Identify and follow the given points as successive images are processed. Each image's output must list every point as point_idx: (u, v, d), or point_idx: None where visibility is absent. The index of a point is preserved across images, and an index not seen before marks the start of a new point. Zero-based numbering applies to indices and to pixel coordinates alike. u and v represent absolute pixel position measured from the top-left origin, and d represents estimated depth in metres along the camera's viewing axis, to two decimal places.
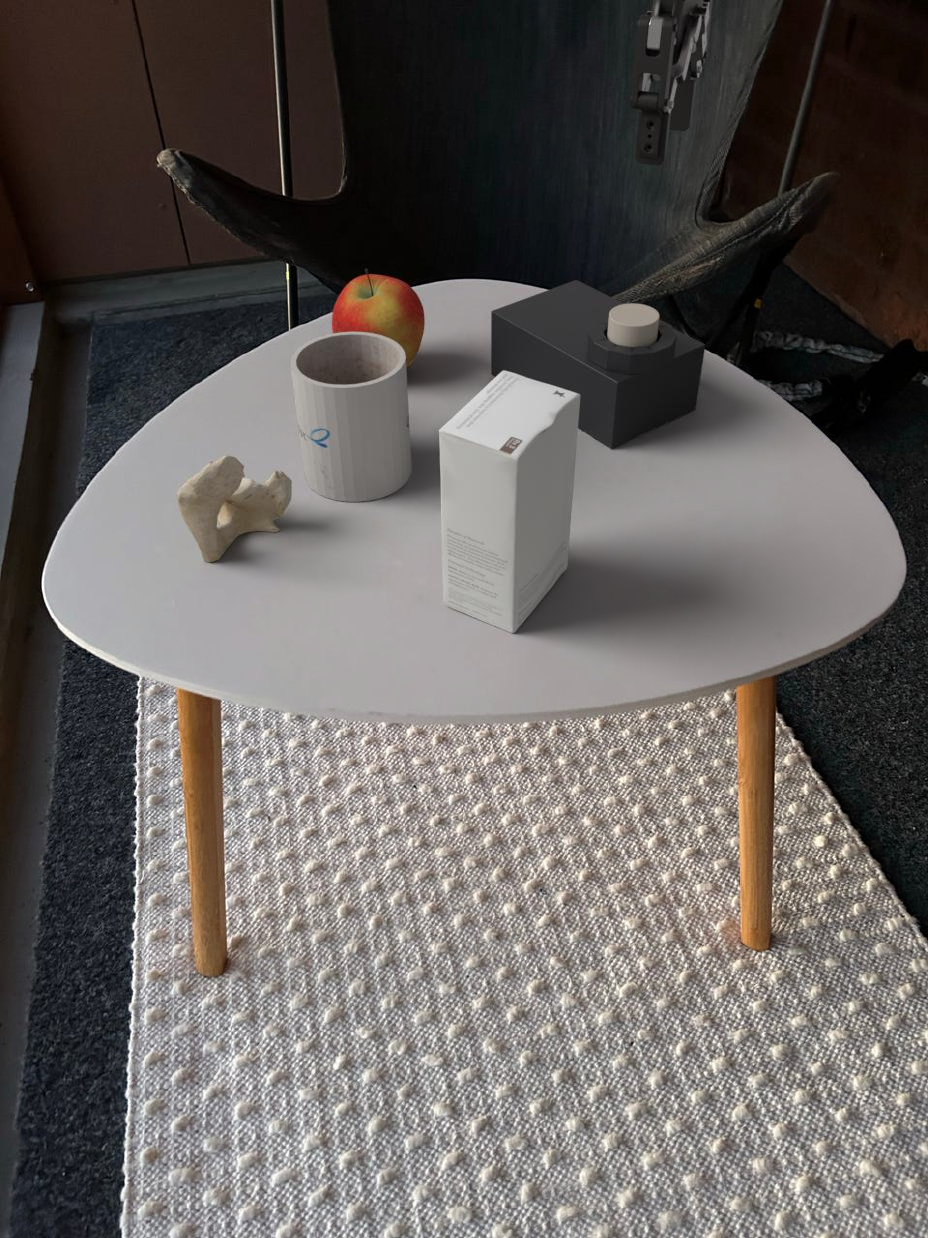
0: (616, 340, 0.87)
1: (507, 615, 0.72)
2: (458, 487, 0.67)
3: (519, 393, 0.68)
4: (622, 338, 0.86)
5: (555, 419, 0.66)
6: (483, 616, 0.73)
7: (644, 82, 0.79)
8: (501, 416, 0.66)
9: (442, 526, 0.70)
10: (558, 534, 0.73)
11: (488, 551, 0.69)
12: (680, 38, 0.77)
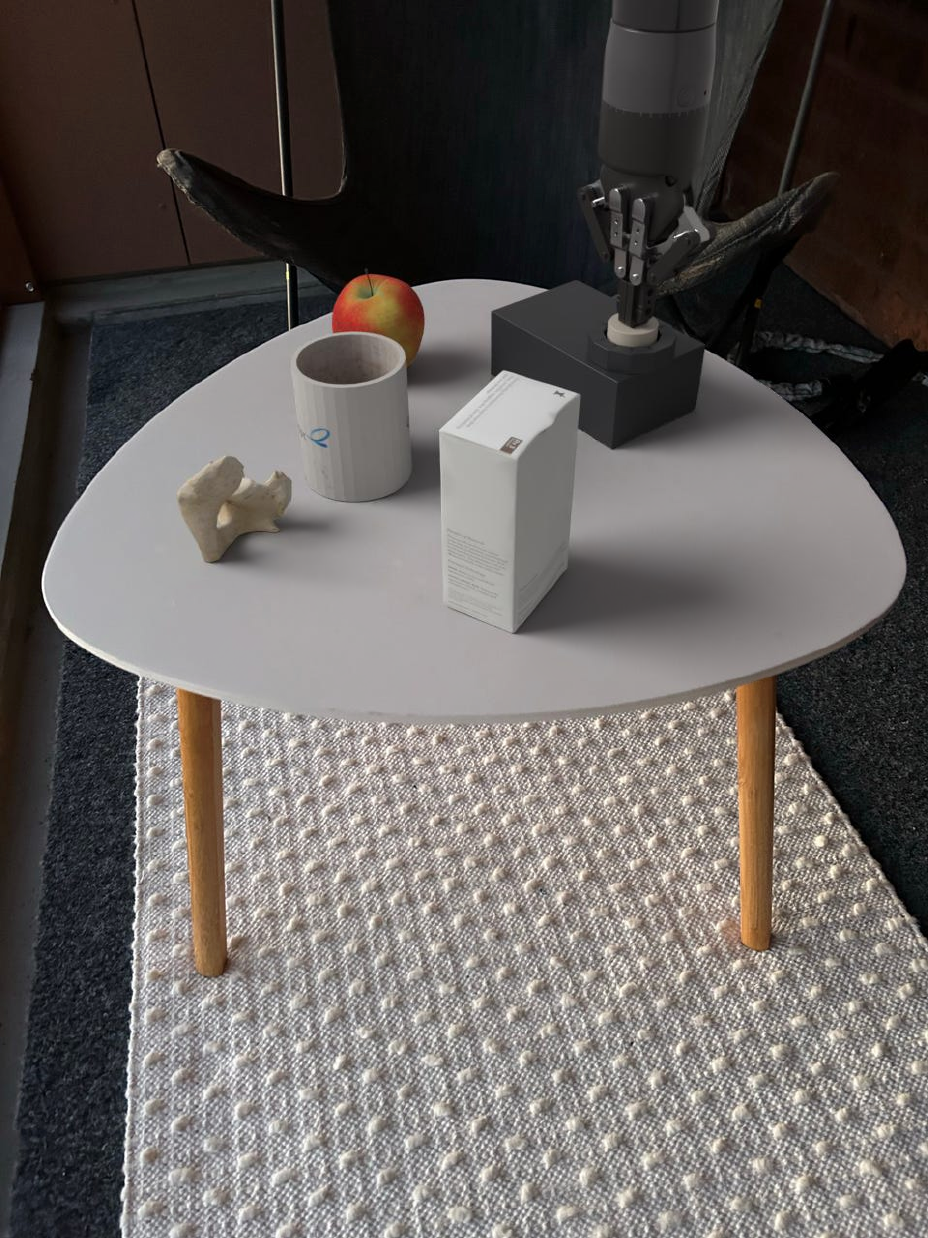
0: None
1: (507, 615, 0.72)
2: (458, 487, 0.67)
3: (520, 393, 0.68)
4: None
5: (555, 419, 0.66)
6: (483, 616, 0.73)
7: (645, 266, 0.82)
8: (501, 416, 0.66)
9: (442, 526, 0.70)
10: (558, 534, 0.73)
11: (488, 551, 0.69)
12: None
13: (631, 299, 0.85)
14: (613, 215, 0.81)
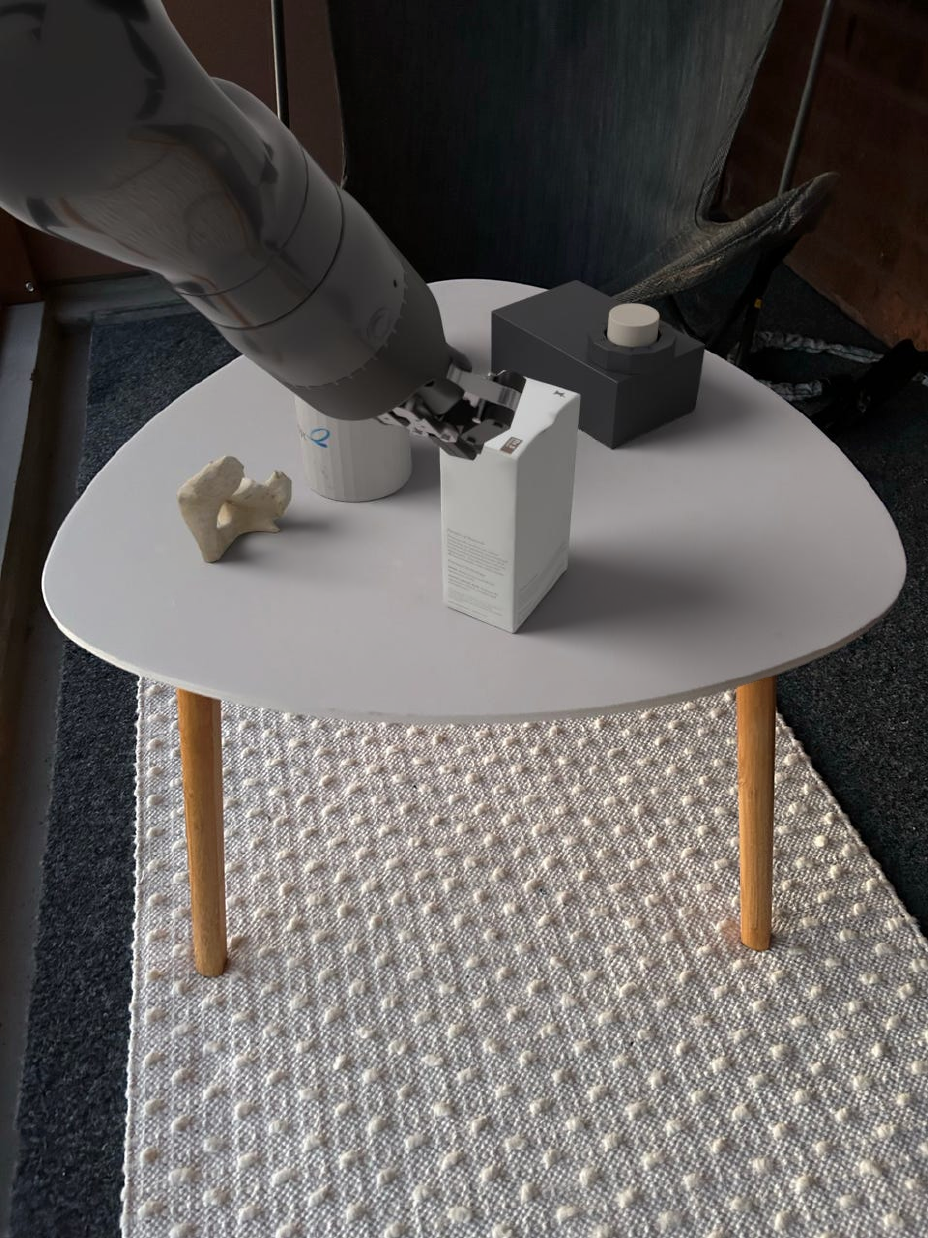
0: (616, 340, 0.87)
1: (507, 615, 0.72)
2: (458, 487, 0.67)
3: None
4: (622, 338, 0.86)
5: (555, 419, 0.66)
6: (483, 616, 0.73)
7: (451, 427, 0.55)
8: None
9: (442, 526, 0.70)
10: (558, 534, 0.73)
11: (488, 551, 0.69)
12: None
13: (455, 447, 0.58)
14: None
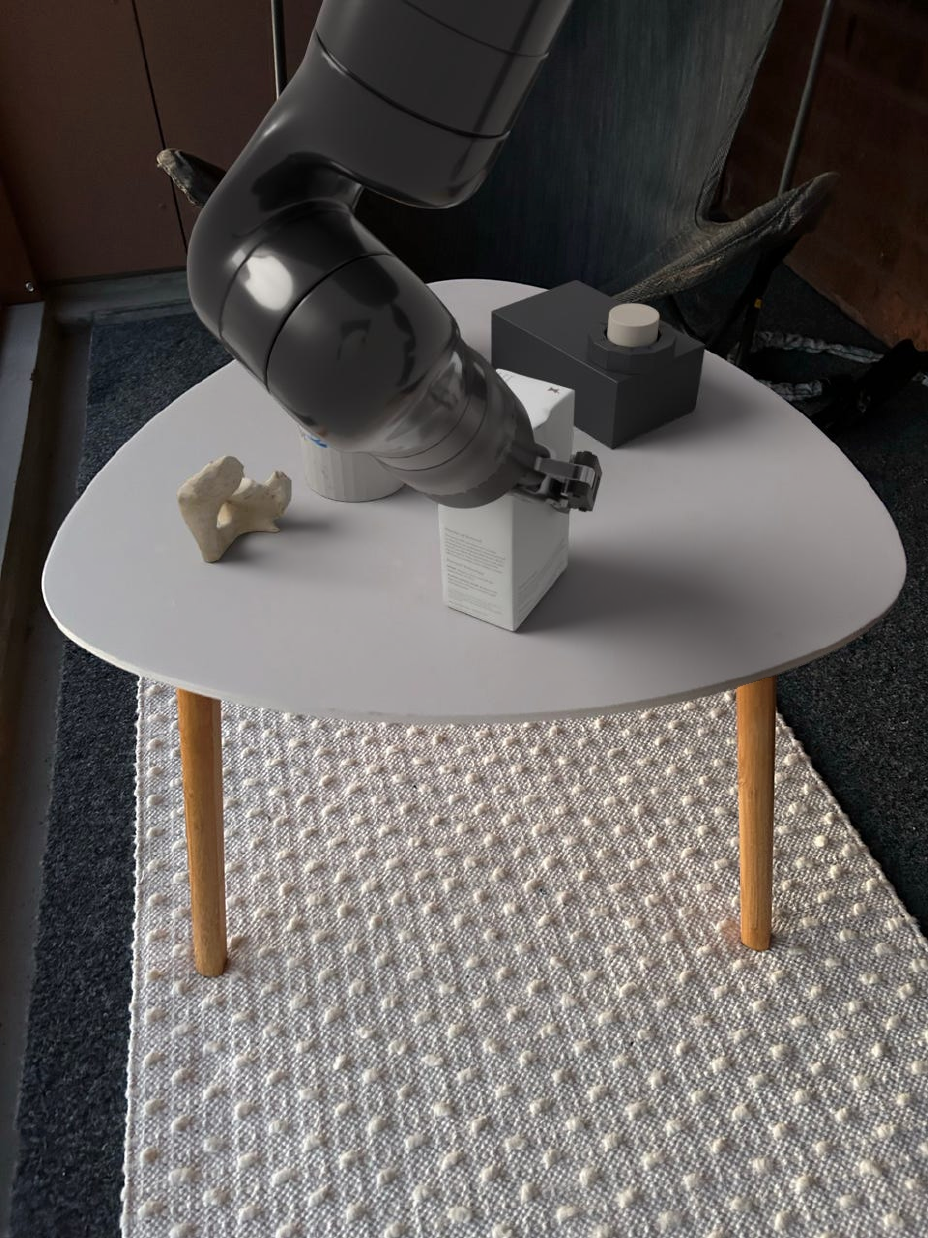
0: (616, 340, 0.87)
1: (506, 613, 0.72)
2: None
3: (514, 390, 0.68)
4: (622, 338, 0.86)
5: (549, 415, 0.66)
6: (483, 614, 0.73)
7: (554, 496, 0.66)
8: None
9: (440, 525, 0.70)
10: (556, 532, 0.73)
11: (485, 549, 0.69)
12: None
13: (559, 507, 0.69)
14: None
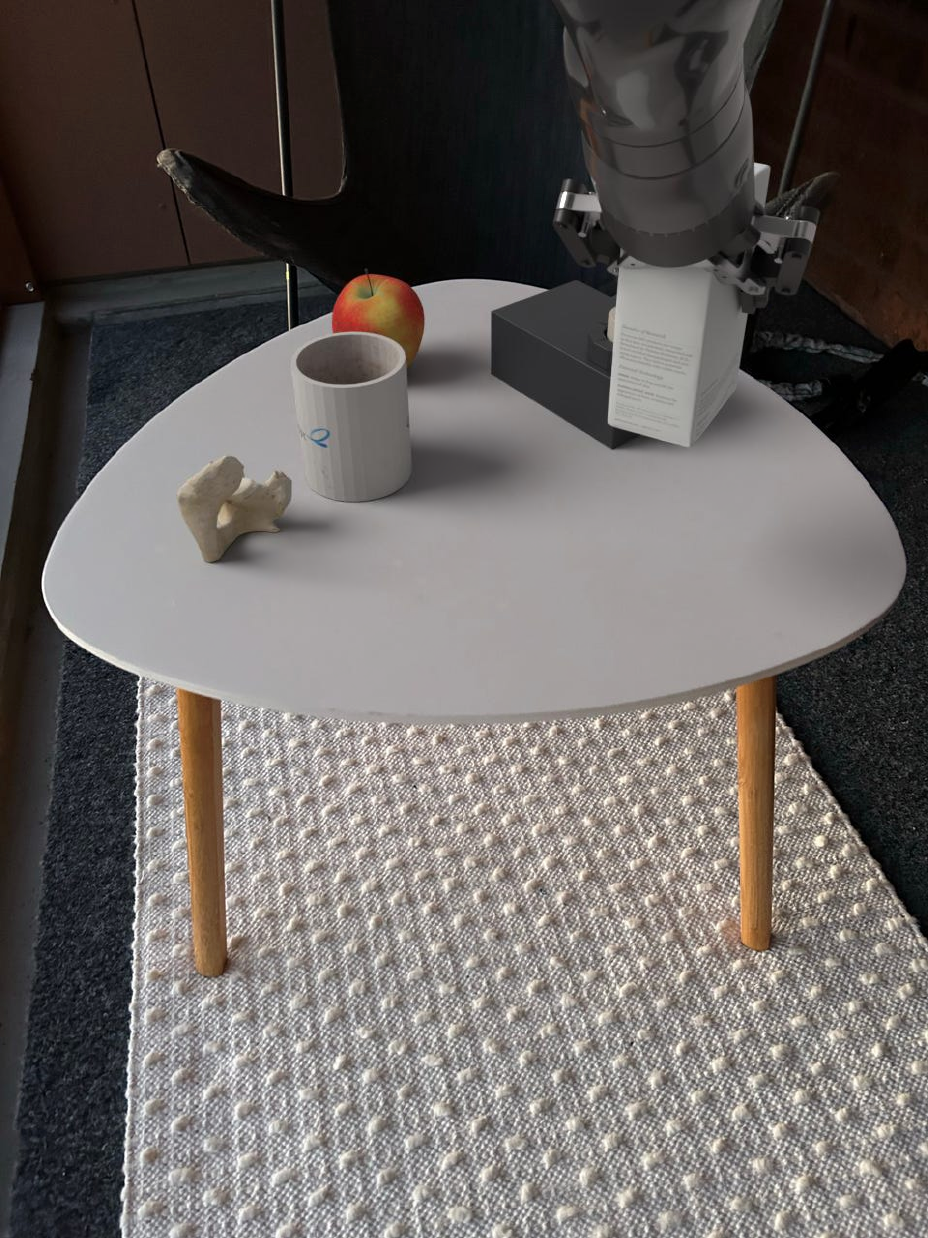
0: None
1: (685, 425, 0.66)
2: None
3: None
4: None
5: None
6: (656, 430, 0.67)
7: (754, 276, 0.60)
8: None
9: (616, 323, 0.64)
10: (735, 340, 0.67)
11: (669, 346, 0.63)
12: None
13: (750, 300, 0.63)
14: None
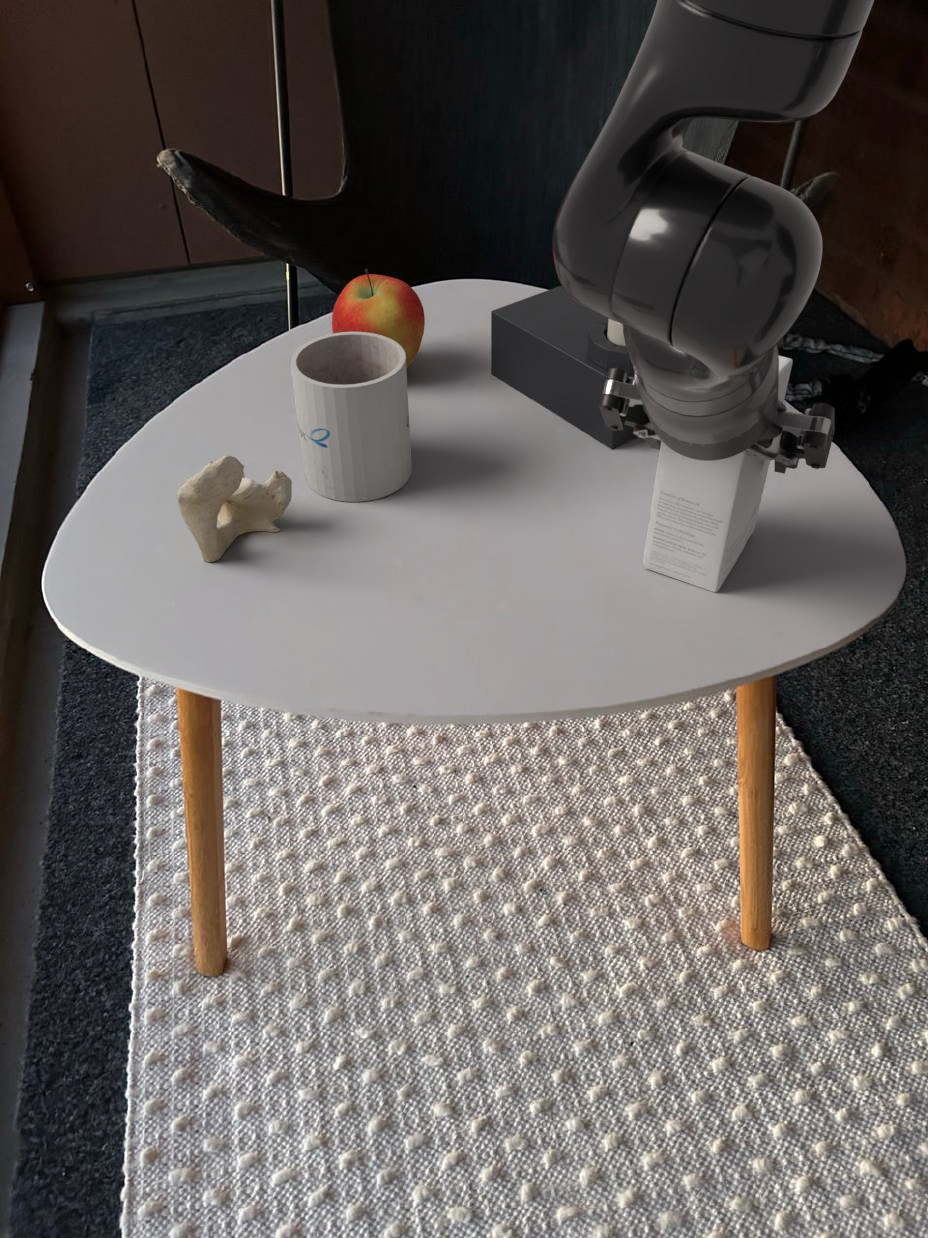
0: (616, 340, 0.87)
1: (712, 575, 0.75)
2: None
3: None
4: (622, 338, 0.86)
5: None
6: (686, 576, 0.76)
7: (784, 452, 0.68)
8: None
9: (655, 489, 0.73)
10: (756, 497, 0.76)
11: (702, 512, 0.72)
12: None
13: (782, 466, 0.71)
14: None
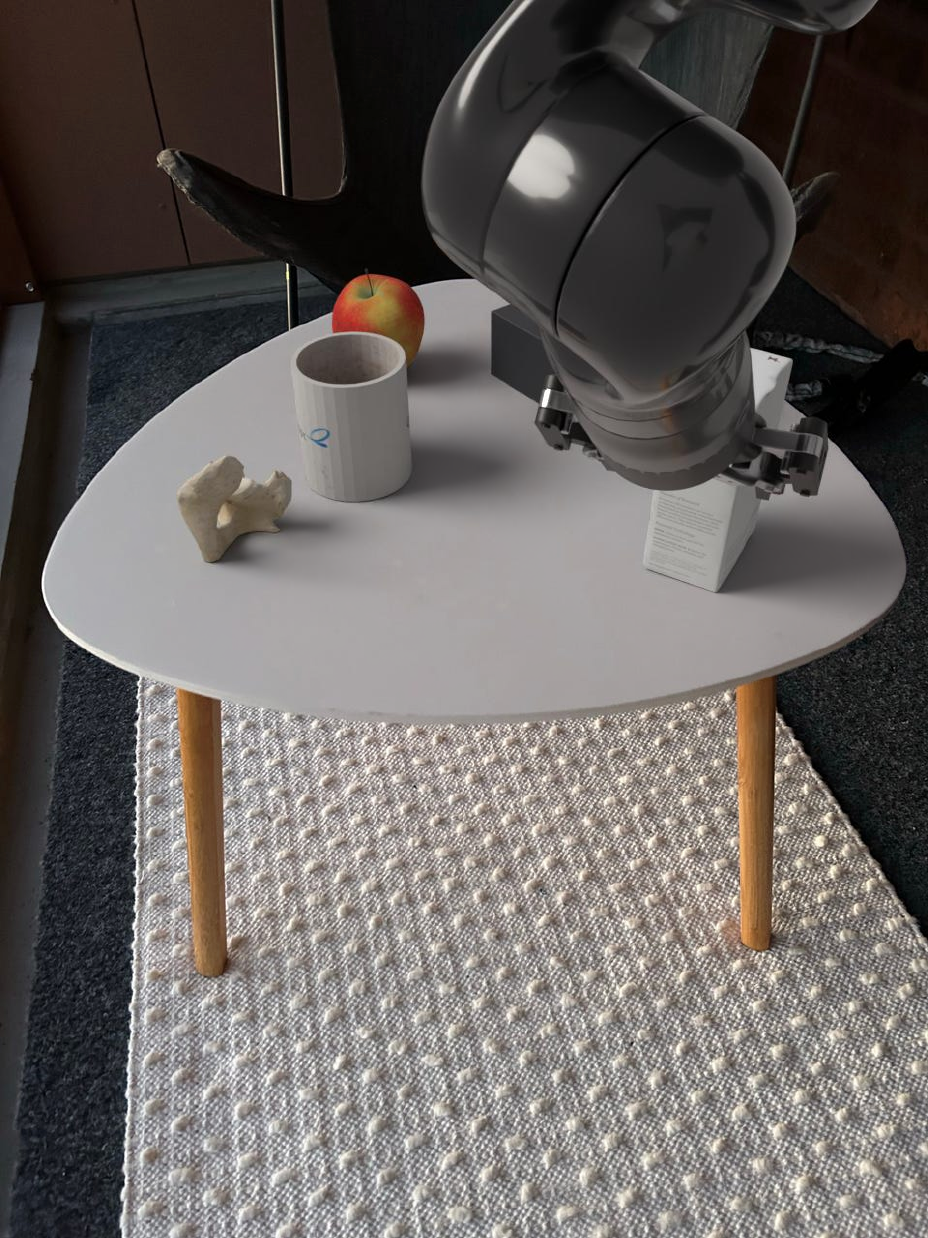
0: None
1: (712, 575, 0.75)
2: None
3: None
4: None
5: (775, 383, 0.69)
6: (686, 576, 0.76)
7: (766, 477, 0.55)
8: None
9: None
10: None
11: (702, 512, 0.72)
12: None
13: (765, 492, 0.58)
14: None
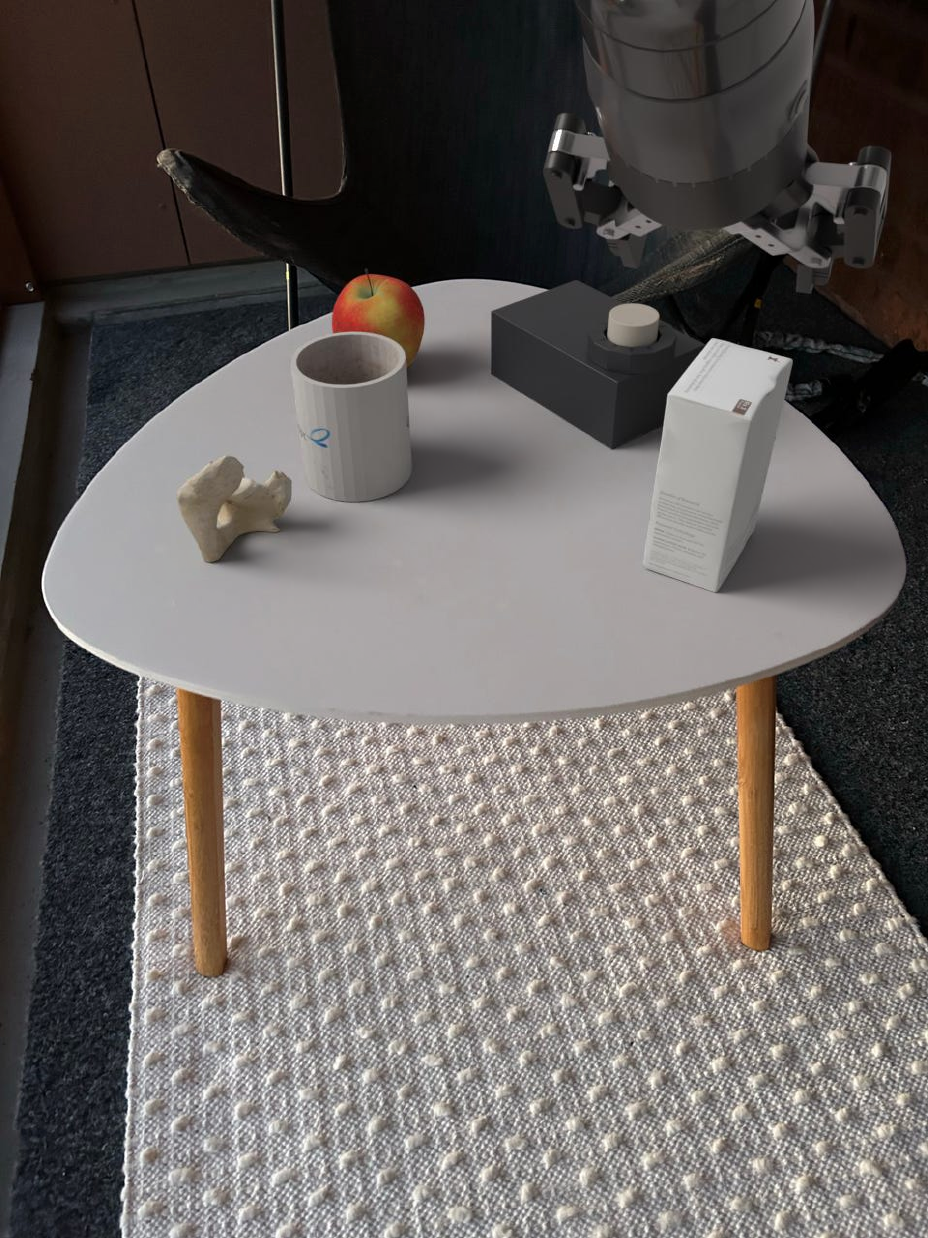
0: (616, 340, 0.87)
1: (712, 575, 0.75)
2: (680, 449, 0.70)
3: (735, 358, 0.70)
4: (622, 338, 0.86)
5: (775, 382, 0.69)
6: (686, 576, 0.76)
7: (813, 243, 0.47)
8: (725, 380, 0.68)
9: (655, 489, 0.73)
10: (756, 497, 0.76)
11: (702, 512, 0.72)
12: None
13: (808, 276, 0.50)
14: None
